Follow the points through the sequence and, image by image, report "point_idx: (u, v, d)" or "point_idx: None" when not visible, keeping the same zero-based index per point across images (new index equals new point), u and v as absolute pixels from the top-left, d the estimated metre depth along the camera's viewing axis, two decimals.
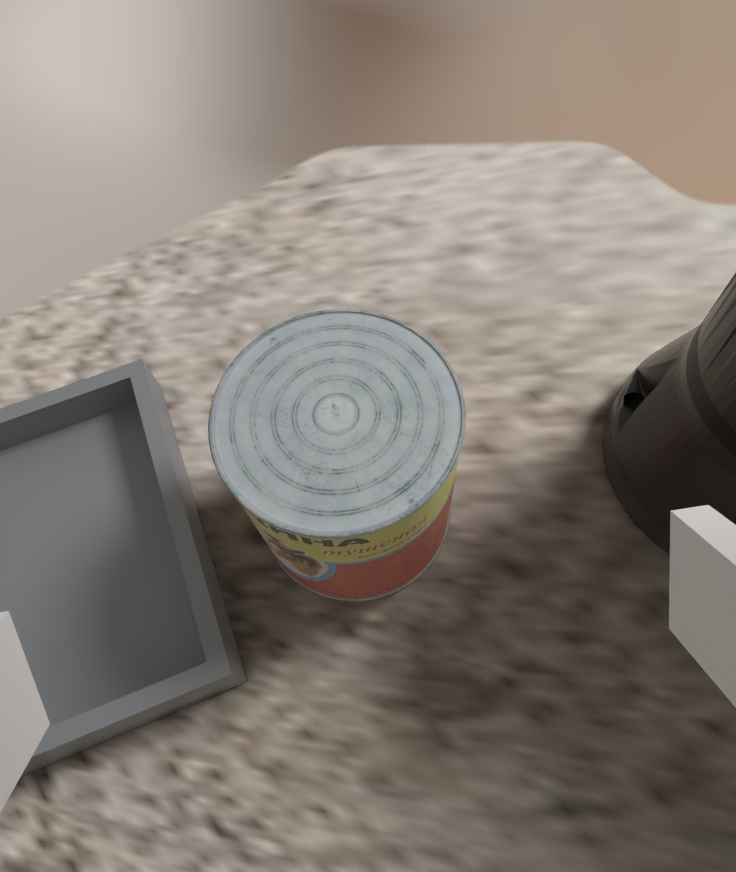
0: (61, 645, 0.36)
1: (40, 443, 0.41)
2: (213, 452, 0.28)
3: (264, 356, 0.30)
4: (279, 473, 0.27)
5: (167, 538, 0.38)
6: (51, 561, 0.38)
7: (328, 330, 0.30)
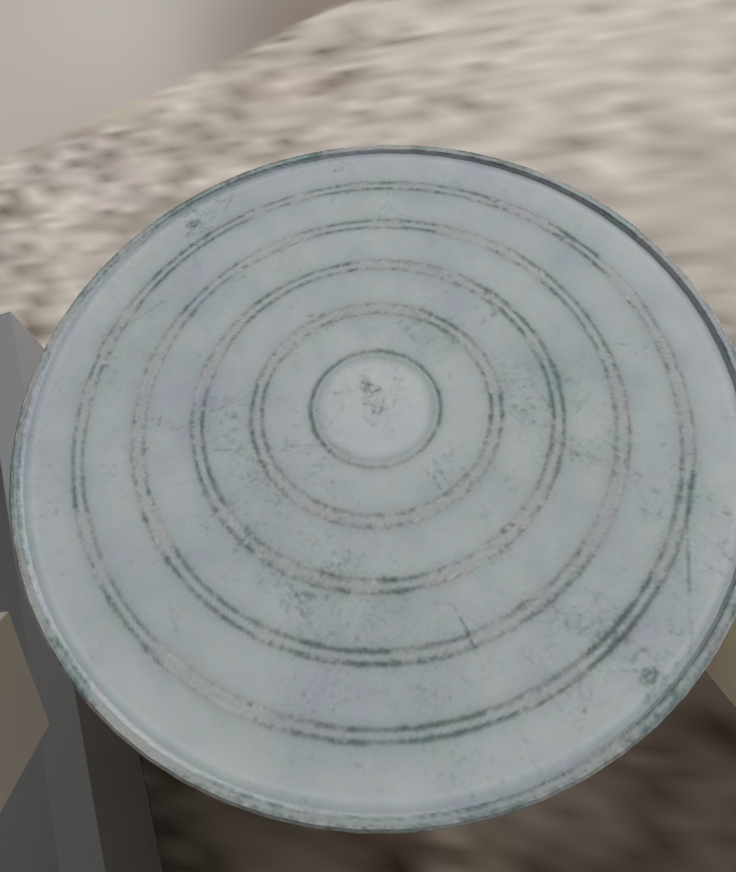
0: None
1: None
2: (18, 542, 0.09)
3: (171, 266, 0.11)
4: (218, 599, 0.09)
5: None
6: None
7: (335, 195, 0.12)
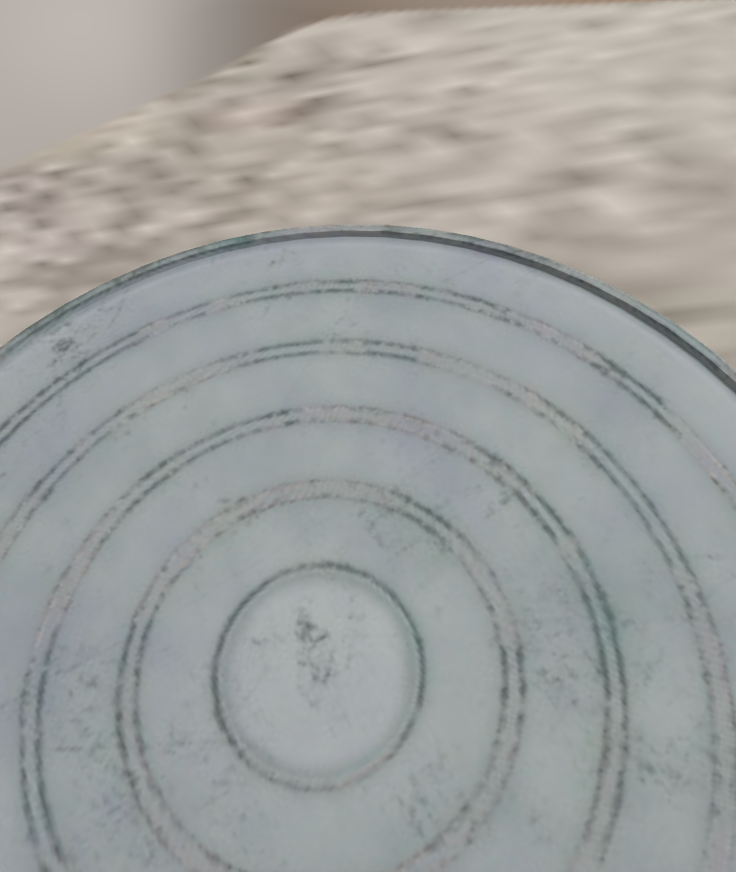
0: None
1: None
2: None
3: (24, 415, 0.08)
4: None
5: None
6: None
7: (271, 302, 0.08)
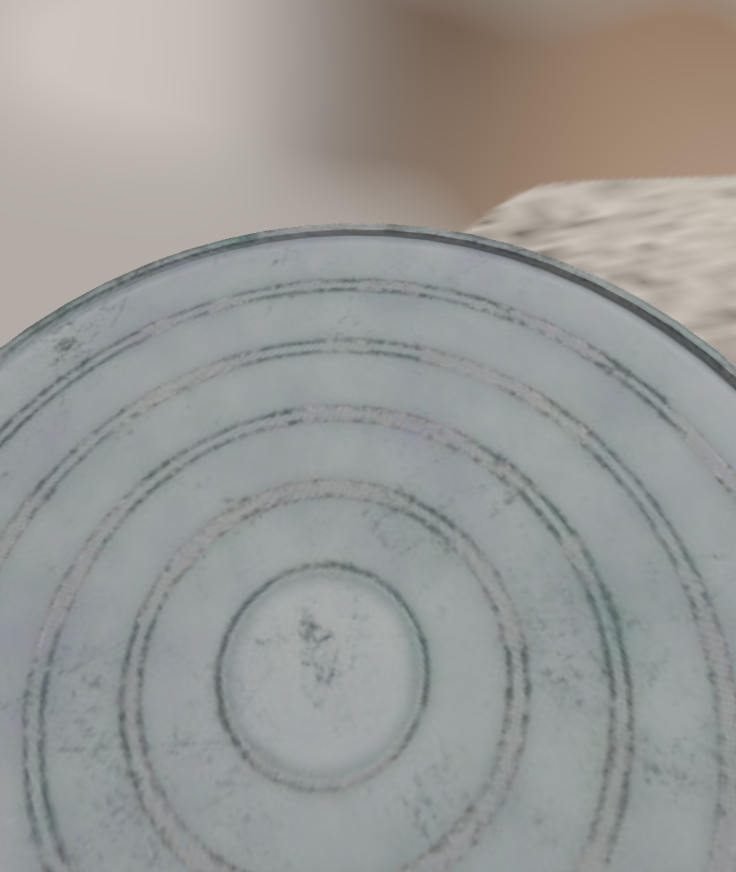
0: None
1: None
2: None
3: (27, 414, 0.08)
4: None
5: None
6: None
7: (274, 301, 0.08)
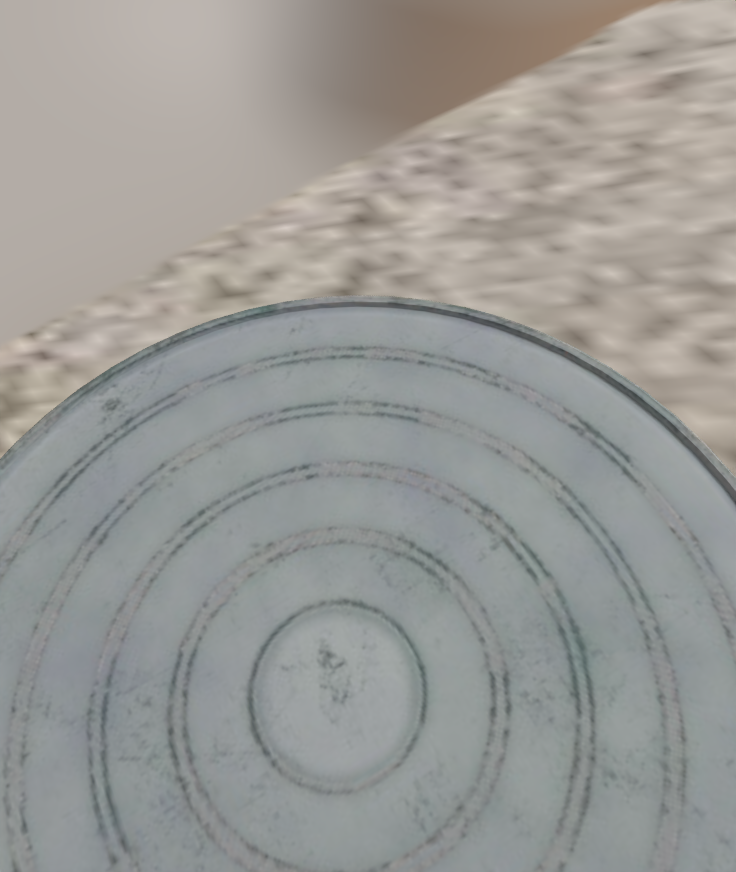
0: None
1: None
2: None
3: (80, 468, 0.09)
4: None
5: None
6: None
7: (292, 366, 0.09)
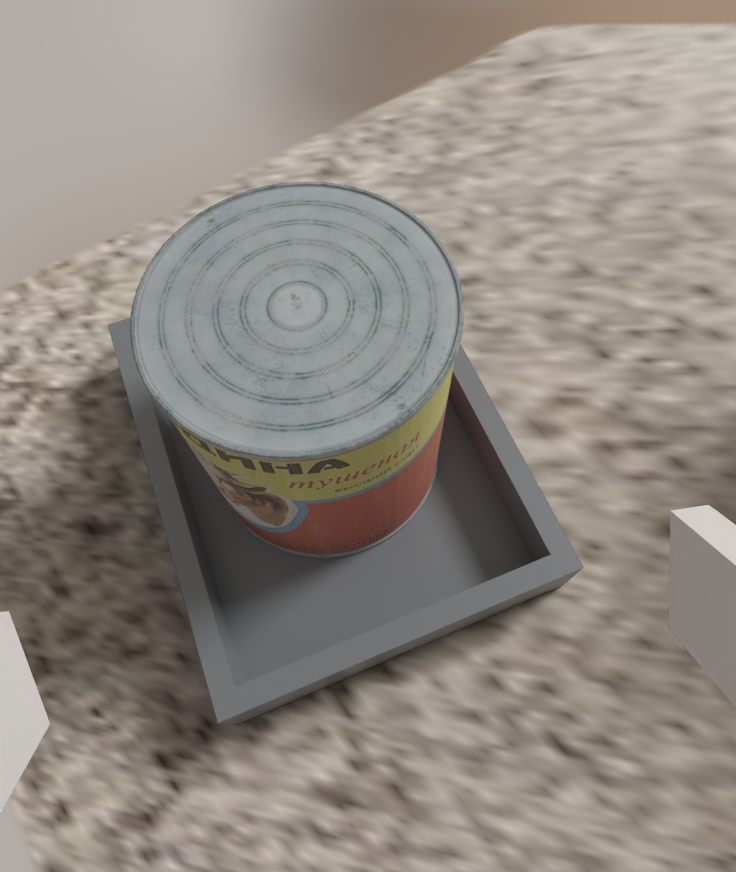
0: None
1: None
2: (137, 360, 0.21)
3: (201, 241, 0.23)
4: (226, 381, 0.21)
5: (443, 429, 0.33)
6: None
7: (282, 207, 0.24)
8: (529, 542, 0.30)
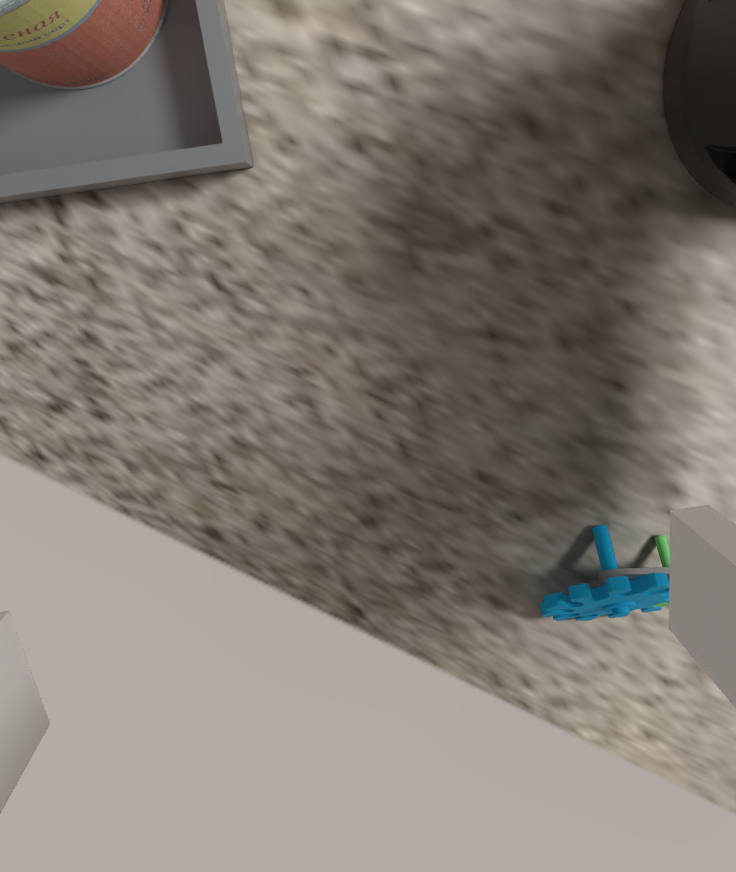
0: None
1: None
2: None
3: None
4: None
5: None
6: None
7: None
8: None
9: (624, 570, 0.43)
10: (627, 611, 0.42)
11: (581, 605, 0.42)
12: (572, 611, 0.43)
